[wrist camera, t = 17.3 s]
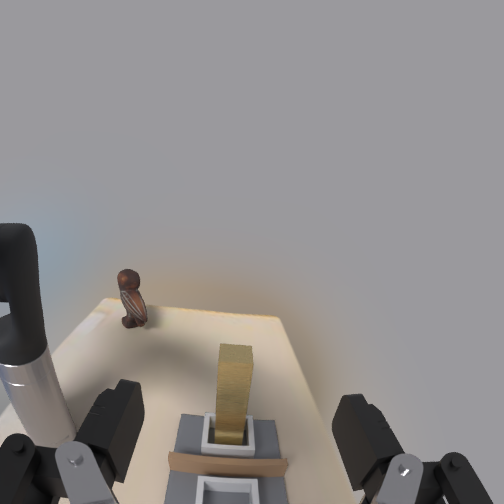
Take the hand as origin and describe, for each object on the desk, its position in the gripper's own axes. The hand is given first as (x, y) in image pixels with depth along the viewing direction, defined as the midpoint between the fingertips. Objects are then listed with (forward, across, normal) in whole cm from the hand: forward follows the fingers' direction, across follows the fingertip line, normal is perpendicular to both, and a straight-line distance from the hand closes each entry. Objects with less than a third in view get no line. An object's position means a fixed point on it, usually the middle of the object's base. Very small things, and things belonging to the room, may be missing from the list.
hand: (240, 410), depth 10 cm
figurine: (+58, +26, +30) cm, 70 cm away
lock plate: (+15, -1, +30) cm, 33 cm away
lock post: (+21, -1, +29) cm, 36 cm away
